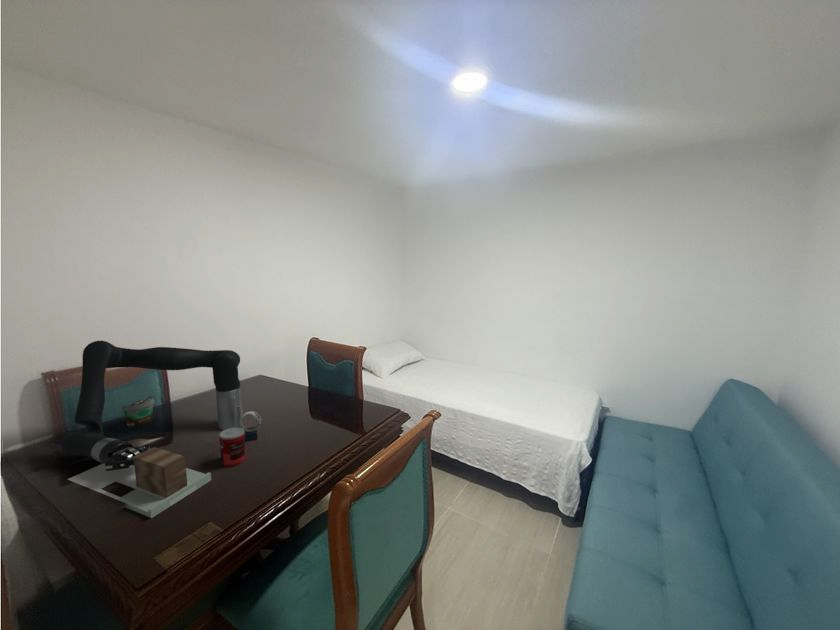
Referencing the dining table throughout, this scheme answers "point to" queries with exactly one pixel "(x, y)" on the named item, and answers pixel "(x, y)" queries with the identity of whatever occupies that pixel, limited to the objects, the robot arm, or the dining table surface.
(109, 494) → the trap lane
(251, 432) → the watch
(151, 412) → the food container
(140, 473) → the walnut block
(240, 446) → the canned food
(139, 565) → the dining table surface
